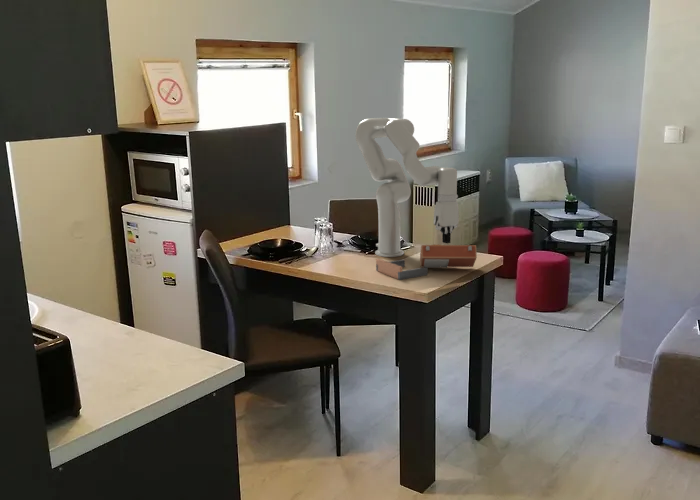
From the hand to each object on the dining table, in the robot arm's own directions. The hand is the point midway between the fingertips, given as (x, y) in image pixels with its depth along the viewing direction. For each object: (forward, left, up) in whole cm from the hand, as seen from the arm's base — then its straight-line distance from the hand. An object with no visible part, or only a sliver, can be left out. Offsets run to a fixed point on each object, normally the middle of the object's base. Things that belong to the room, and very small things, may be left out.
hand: (446, 242), depth 270 cm
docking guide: (0, -22, -10) cm, 24 cm away
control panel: (+1, -1, -8) cm, 8 cm away
